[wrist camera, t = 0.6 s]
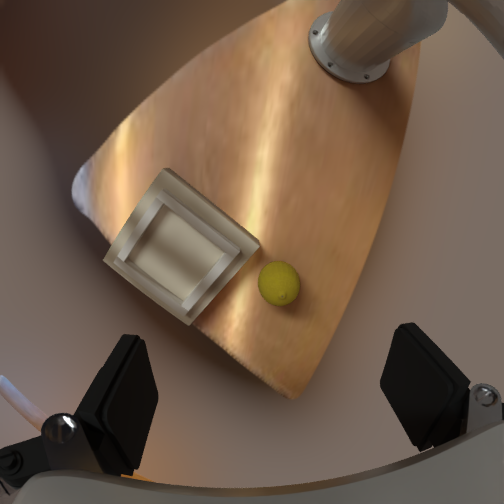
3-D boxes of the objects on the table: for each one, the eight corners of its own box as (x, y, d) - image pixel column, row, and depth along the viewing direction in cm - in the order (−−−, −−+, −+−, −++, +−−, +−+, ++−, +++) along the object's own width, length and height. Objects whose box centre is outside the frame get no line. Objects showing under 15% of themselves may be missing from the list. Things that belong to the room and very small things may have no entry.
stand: (169, 167, 36) (159, 169, 32) (258, 240, 39) (260, 250, 35) (111, 253, 40) (98, 263, 35) (192, 315, 43) (187, 331, 39)
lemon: (293, 251, 40) (304, 273, 33) (295, 286, 42) (305, 313, 34) (255, 255, 40) (257, 278, 33) (258, 290, 42) (261, 318, 34)
